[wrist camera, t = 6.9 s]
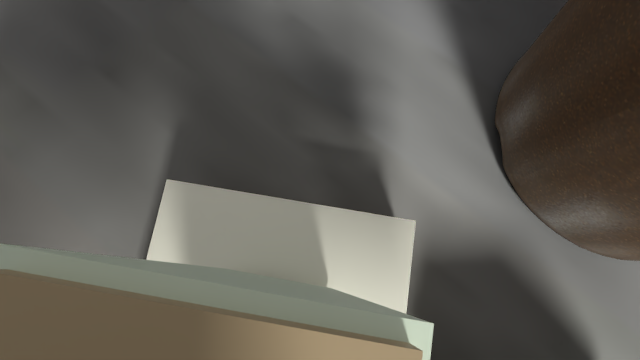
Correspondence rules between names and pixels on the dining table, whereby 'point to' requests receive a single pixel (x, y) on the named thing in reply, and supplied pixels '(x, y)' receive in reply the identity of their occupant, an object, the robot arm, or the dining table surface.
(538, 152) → the plant pot
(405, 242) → the slab
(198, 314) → the tea tin
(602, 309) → the dining table surface
